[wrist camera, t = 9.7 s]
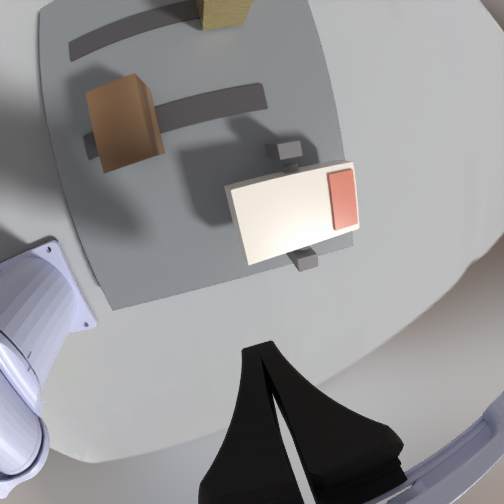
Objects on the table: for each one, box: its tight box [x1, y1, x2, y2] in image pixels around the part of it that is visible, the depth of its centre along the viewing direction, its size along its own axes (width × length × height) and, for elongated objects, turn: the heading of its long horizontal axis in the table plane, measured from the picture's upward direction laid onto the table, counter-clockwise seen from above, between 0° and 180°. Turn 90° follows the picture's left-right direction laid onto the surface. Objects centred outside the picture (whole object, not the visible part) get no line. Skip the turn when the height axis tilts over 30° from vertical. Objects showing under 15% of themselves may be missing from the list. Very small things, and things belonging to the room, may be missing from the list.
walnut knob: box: [86, 73, 165, 174], centre depth 12 cm, size 2×4×4 cm, turn 12°
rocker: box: [224, 160, 359, 265], centre depth 15 cm, size 7×5×2 cm
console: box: [39, 0, 353, 311], centre depth 13 cm, size 18×24×5 cm
